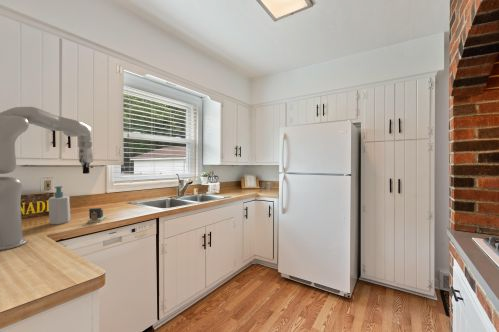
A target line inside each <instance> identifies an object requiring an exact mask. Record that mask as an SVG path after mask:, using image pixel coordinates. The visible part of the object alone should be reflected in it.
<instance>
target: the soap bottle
mask: <svg viewBox="0 0 499 332" xmlns="http://www.w3.org/2000/svg"><path fill="white" fill-rule="evenodd" d="M62 188H63V186H62V185H61V186H60V185H58V186H55V187H54V189H55V190H56V192H54V196H51V197H49V198H48V200H47V201H48V216H49V217H48V218H49V221H48V222H49V225H61V224H67V223H69V222H70V221H71V203H70V196H69V195H64V192H63V191H62Z"/></svg>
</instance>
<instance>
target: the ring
mask: <svg viewBox="0 0 499 332" xmlns="http://www.w3.org/2000/svg"><path fill="white" fill-rule="evenodd" d="M101 209H102V207H96V208H95V207H93V208H89V209H88V213H89V215H88V216H89V217H88V218H89V220H90V219H92V218H91V213H94V212H97V214H98V218H102V212H101Z"/></svg>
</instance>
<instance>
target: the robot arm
mask: <svg viewBox="0 0 499 332" xmlns="http://www.w3.org/2000/svg"><path fill="white" fill-rule="evenodd" d="M30 125H34V126H37V127H41V128H42V129H43V128H44V129H47V130H48V131H49V130H50V131H55V132H62V133H63V134H64V135H65V136H67V137H72V138H73V137H77V148H78V162H79V163H80V165H81V166H82V174H84V175H85V174H90V164H91V163H93V162H94V153H93V140H92V139H93V137H92V127H91V126H89V125H88V124H86V123H84V122H81V121H79V120H76V119H72V118H68V117H64V116H60V115H59V116H58V115H56V114H53V113H50V112H48V111H45V110H43V109H41V108H39V107H34V106H16V107H12V108H8V109H7V110H3V111H2V112H0V175H4V174H5V175H6V174H7V175H8V174H10V173H13V172H15V170H16V168H17V158H16V146H15V145H16V141H17V139H18V138H19V136H20V135H22V134H23V133H25V132H26V131H27V130H28V129H29V127H30ZM22 192H23V184H22V181H20V180H19V179H18V178H16V177H13V176H0V251H3V250H8V249H14V248H17V247H20V246H23V245H25V244H26V243H27V242H28V239H27V238H24V237H23V226H22V224H23V223H22V210H21V209H22V207H21V206H22V204H21V199H22V197H21V196H22Z"/></svg>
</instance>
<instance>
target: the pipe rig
mask: <svg viewBox="0 0 499 332" xmlns="http://www.w3.org/2000/svg"><path fill="white" fill-rule="evenodd" d="M101 212H102V218H98V214H97V212H94V213H91V218H92V219H90V218H89V220H87V223H88V224H89V223H101V222H102V221H104V220H105V219H107V216H106V215H104V209H102V208H101Z"/></svg>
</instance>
